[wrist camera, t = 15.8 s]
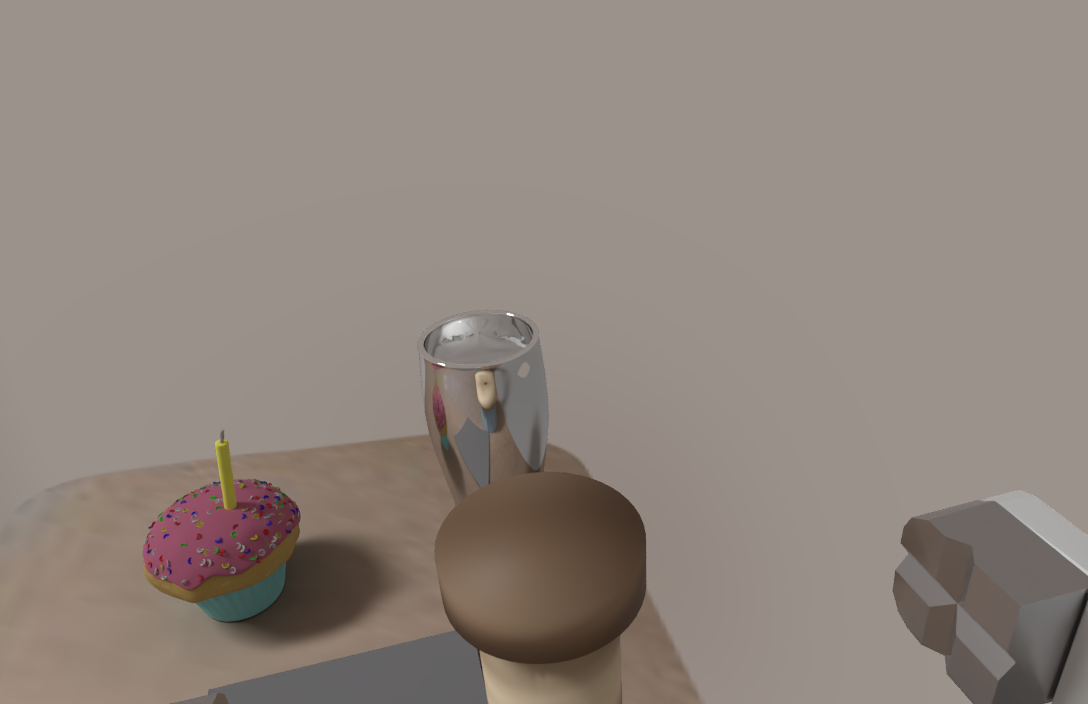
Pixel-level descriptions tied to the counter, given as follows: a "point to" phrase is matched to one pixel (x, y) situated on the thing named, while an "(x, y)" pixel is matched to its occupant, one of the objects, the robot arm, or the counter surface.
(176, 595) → the cupcake
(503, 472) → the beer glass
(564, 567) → the brown piece
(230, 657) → the counter surface
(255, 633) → the counter surface
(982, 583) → the robot arm
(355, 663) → the mat
